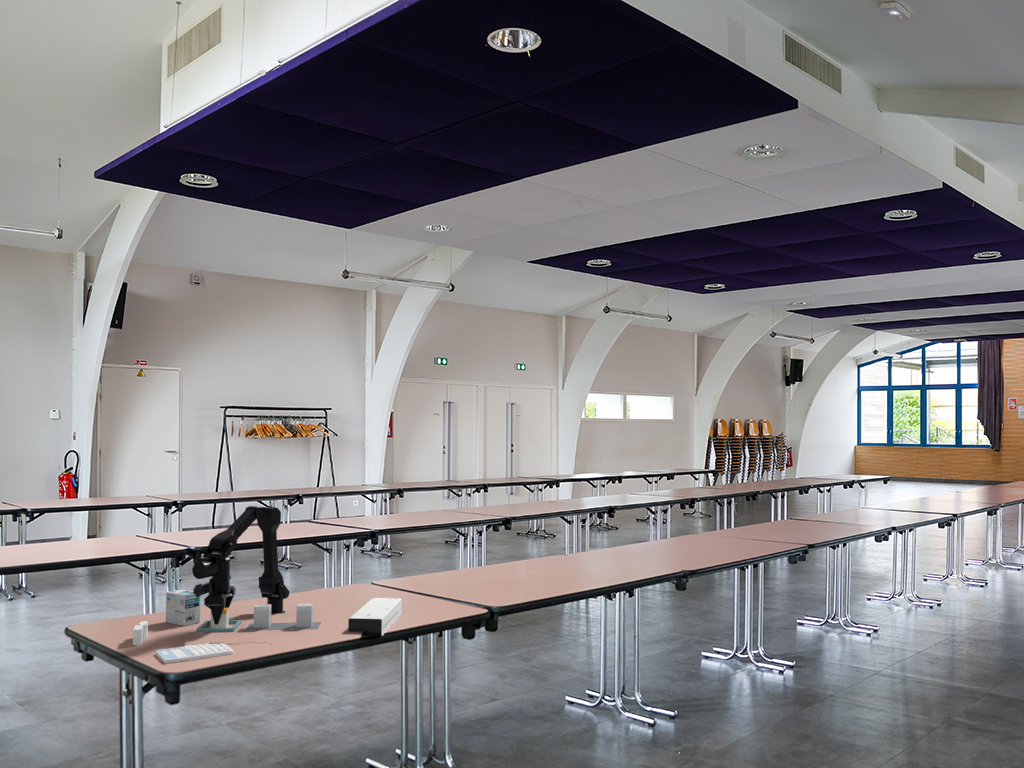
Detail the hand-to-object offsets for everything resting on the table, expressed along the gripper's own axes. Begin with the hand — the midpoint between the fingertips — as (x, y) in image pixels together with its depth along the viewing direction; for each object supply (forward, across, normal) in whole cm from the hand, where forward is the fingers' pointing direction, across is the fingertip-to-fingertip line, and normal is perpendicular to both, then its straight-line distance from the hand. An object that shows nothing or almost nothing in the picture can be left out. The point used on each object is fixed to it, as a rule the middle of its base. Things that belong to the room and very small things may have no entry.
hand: (219, 621), depth 279 cm
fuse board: (+4, 0, +21) cm, 21 cm away
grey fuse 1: (+2, 0, +14) cm, 14 cm away
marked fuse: (+3, 0, 0) cm, 3 cm away
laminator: (+4, -7, +51) cm, 52 cm away
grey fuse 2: (+2, 0, +28) cm, 28 cm away
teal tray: (+4, 0, 0) cm, 4 cm away
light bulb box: (+4, -15, -16) cm, 22 cm away
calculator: (+4, +27, -1) cm, 27 cm away
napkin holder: (+4, +9, -22) cm, 24 cm away
